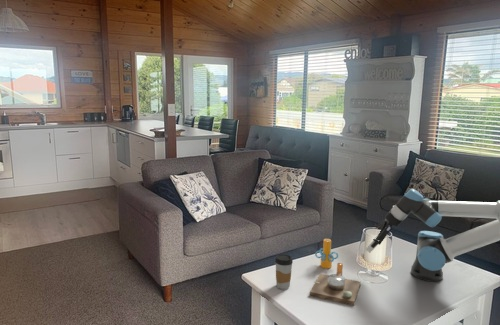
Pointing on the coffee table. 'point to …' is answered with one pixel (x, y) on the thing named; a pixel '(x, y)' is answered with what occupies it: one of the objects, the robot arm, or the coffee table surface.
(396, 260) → the coffee table surface
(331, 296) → the base
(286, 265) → the coffee cup
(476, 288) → the coffee table surface
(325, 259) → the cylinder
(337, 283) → the knob
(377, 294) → the coffee table surface
